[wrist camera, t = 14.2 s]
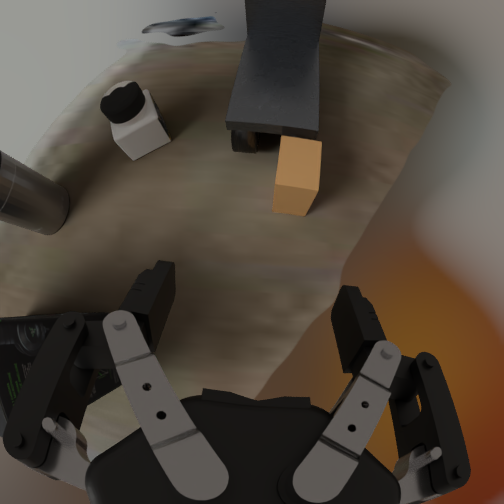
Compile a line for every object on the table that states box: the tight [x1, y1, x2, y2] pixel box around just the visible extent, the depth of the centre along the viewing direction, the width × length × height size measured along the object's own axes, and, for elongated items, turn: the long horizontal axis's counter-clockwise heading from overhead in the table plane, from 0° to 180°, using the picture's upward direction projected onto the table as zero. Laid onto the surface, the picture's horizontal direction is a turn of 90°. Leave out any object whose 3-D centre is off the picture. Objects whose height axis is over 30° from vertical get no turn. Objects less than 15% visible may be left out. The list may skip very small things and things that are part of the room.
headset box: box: [0, 312, 121, 437], centre depth 23 cm, size 22×12×26 cm, turn 98°
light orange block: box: [272, 136, 322, 216], centre depth 32 cm, size 4×6×10 cm
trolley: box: [225, 0, 326, 154], centre depth 27 cm, size 12×22×26 cm, turn 172°
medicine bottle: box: [100, 81, 171, 161], centre depth 34 cm, size 7×7×12 cm
